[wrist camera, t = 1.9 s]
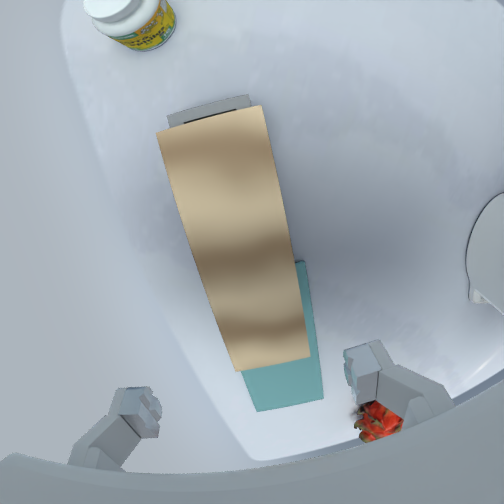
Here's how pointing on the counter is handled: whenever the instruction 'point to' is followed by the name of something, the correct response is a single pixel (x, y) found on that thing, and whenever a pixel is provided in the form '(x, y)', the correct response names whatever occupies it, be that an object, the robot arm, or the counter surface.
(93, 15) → the supplement bottle
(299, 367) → the teal mat
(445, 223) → the counter surface
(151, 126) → the counter surface
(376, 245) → the counter surface
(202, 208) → the oak lid
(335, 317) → the counter surface
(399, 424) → the dragon fruit
